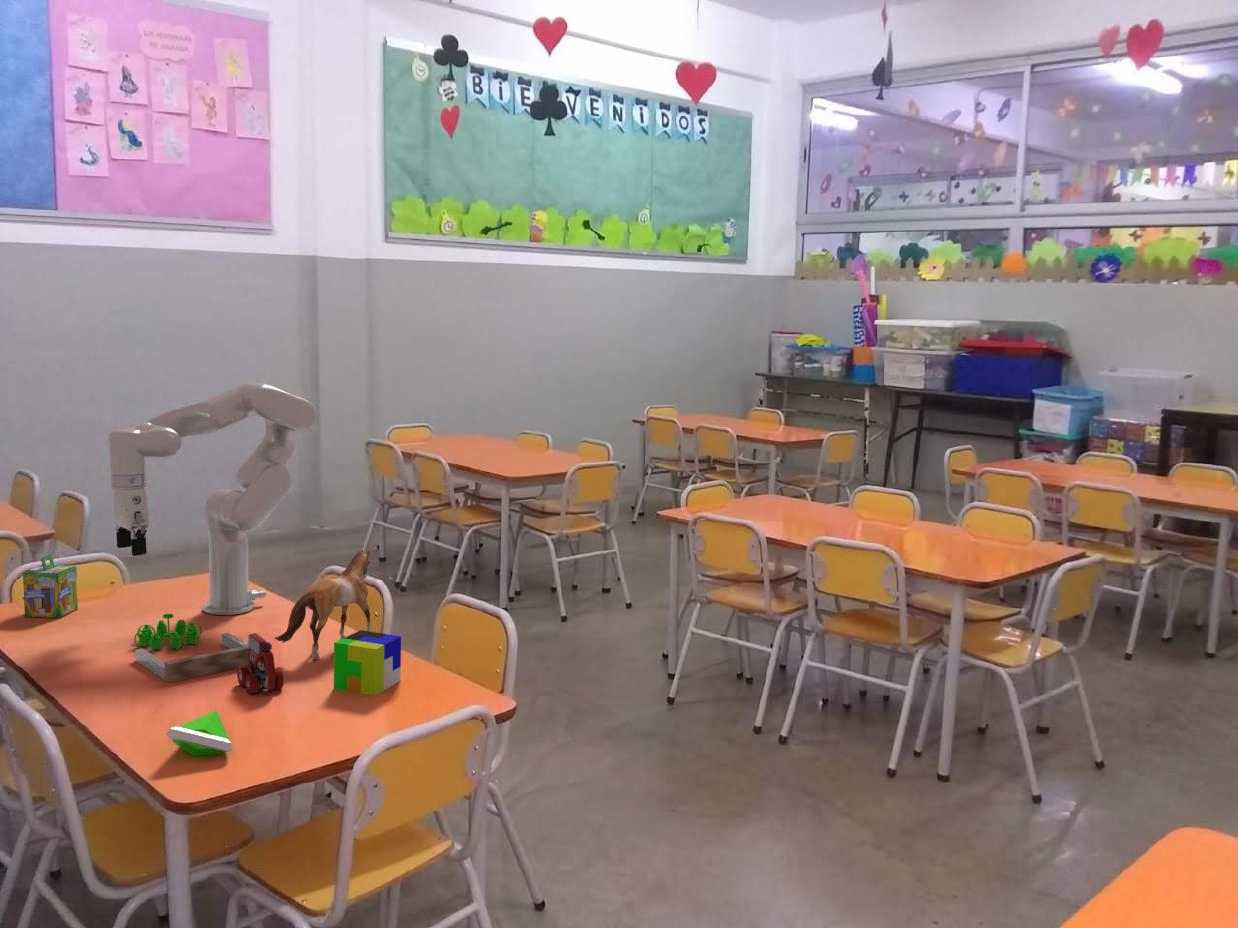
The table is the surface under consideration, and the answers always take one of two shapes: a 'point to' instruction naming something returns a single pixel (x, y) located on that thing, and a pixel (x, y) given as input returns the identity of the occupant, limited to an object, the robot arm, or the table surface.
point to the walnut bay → (198, 661)
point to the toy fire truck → (259, 667)
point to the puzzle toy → (367, 662)
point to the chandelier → (168, 634)
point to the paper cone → (202, 736)
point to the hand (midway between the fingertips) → (131, 550)
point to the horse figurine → (331, 600)
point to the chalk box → (50, 590)
